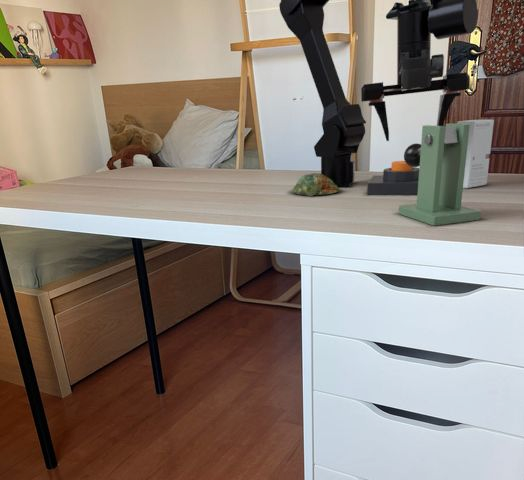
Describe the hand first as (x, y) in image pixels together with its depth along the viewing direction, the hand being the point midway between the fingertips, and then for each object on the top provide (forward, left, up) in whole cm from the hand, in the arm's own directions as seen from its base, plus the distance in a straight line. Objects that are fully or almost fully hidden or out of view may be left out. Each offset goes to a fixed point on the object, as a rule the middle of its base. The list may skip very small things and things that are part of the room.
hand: (412, 138), depth 100 cm
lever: (+3, -20, -1) cm, 21 cm away
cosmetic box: (+11, +6, -10) cm, 16 cm away
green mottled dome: (-19, -1, -10) cm, 21 cm away
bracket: (+5, -23, -10) cm, 25 cm away
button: (-2, +1, -6) cm, 6 cm away
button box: (-2, +1, -10) cm, 10 cm away
